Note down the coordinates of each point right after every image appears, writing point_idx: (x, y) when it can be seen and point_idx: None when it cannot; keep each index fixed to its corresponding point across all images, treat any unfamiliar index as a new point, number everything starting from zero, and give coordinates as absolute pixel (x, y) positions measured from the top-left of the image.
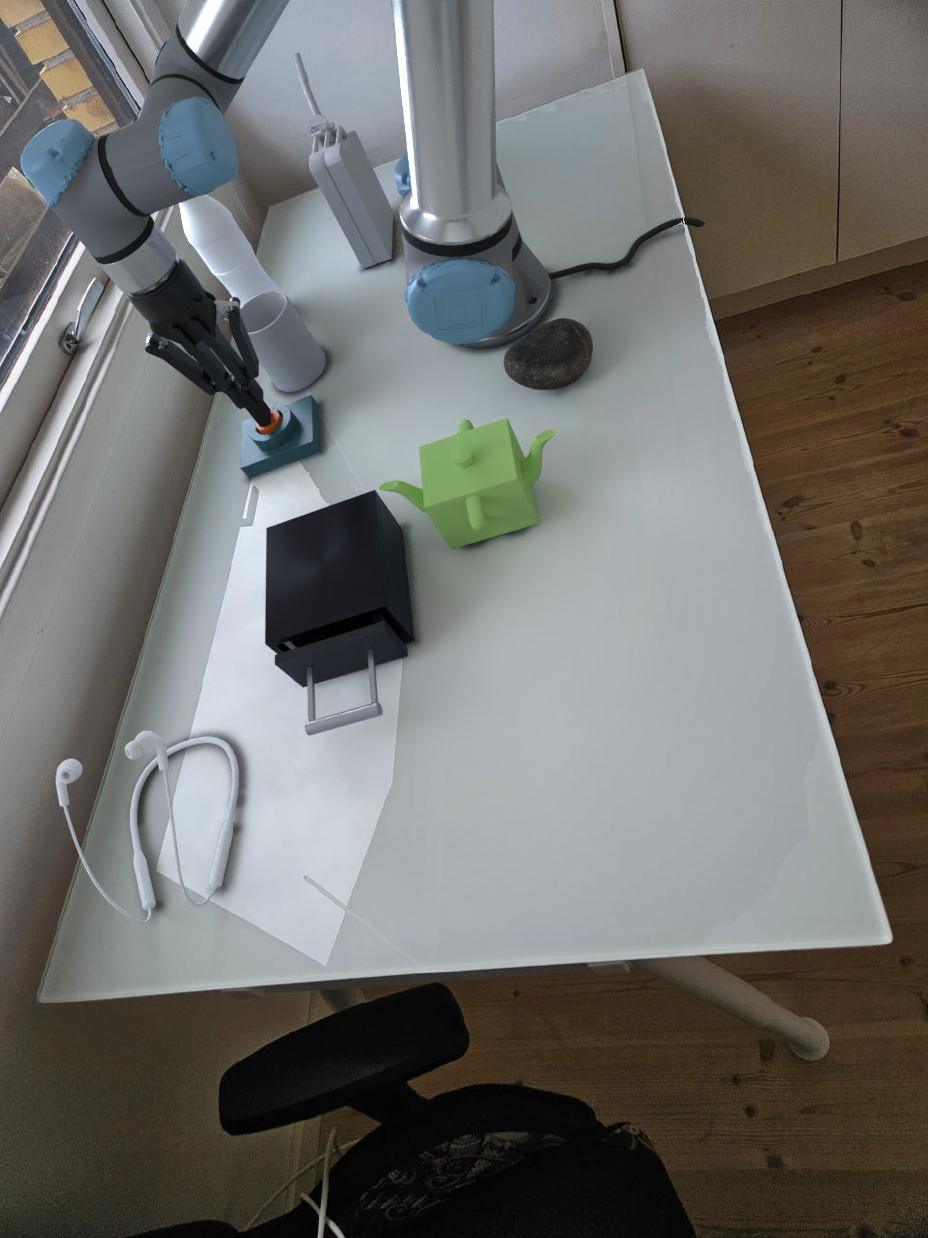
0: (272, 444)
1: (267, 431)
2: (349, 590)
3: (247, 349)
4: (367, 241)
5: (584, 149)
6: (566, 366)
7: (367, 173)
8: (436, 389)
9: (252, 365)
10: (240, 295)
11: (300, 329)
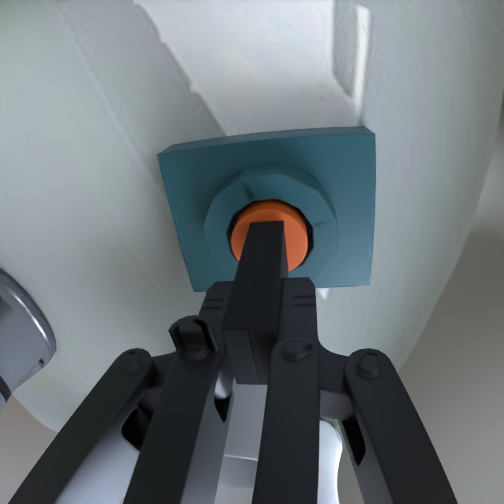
0: (265, 168)
1: (269, 205)
2: None
3: (47, 453)
4: None
5: (39, 407)
6: None
7: None
8: (17, 226)
9: (99, 392)
10: (319, 476)
11: None
